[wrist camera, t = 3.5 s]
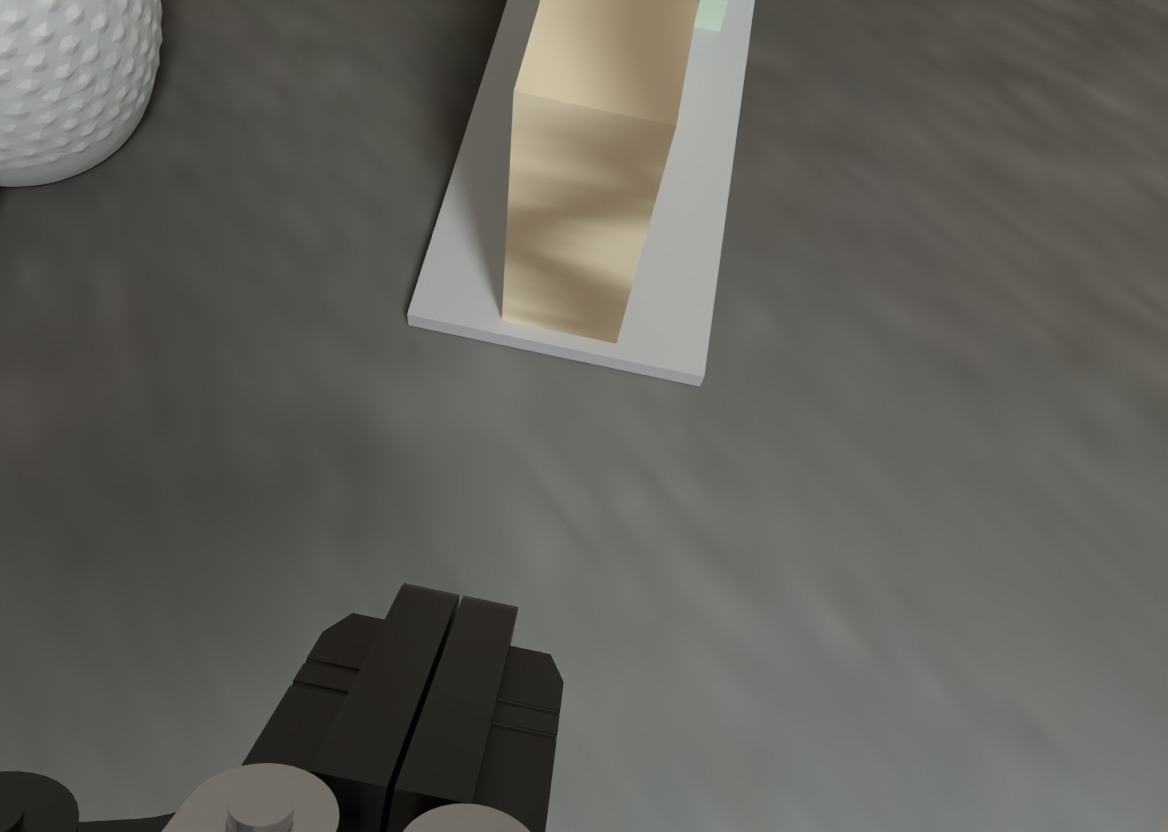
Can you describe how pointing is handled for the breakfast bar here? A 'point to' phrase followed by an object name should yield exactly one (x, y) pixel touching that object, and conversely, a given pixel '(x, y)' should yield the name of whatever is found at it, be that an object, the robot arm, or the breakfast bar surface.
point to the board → (675, 234)
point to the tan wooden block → (589, 157)
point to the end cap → (710, 14)
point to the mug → (72, 83)
